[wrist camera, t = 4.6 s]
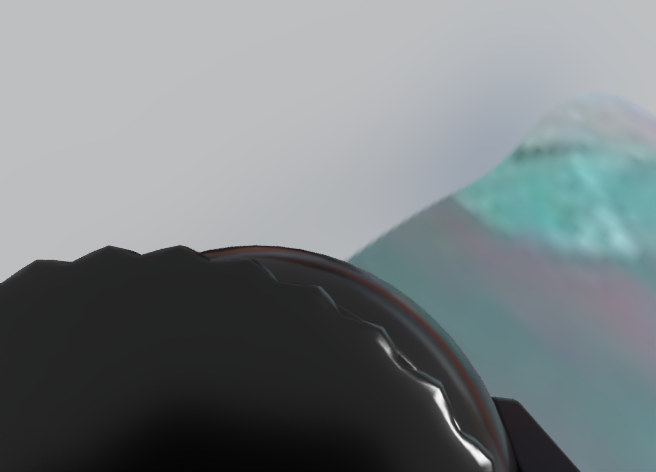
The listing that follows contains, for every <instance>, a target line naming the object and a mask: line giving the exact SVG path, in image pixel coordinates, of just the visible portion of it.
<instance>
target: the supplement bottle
mask: <svg viewBox="0 0 656 472" xmlns="http://www.w3.org/2000/svg"><path fill="white" fill-rule="evenodd" d="M0 472H518V467H517V463H516V459H515V456H514V453H513V450H512V447H511V444H510V441H509V438H508V435H507V432H506V429H505V427H504V425H503V422H502V420H501V418H500V415H499V413H498V411H497V408H496V406H495V404H494V402H493V400H492V398H491V396H490V394H489V393H488V391H487V389H486V387H485V385H484V383H483V381H482V380H481V378H480V376H479V375H478V373H477V372H476V370H475V369H474V367H473V366H472V364H471V363H470V361H469V360H468V358H467V357H466V355H465V354H464V353H463V351H462V350H461V349H460V348H459V346H458V345H457V344H456V343H455V341H454V340H453V339H452V338H451V336H450V335H449V334H448V333H447V332H446V331H445V330H444V329H443V328H442V327H441V326H440V325H439V324H438V323H437V322H436V321H435V320H434V319H433V317H432V316H431V315H429V314H428V313H427V312H426V311H425V310H424V309H422V308H421V307H420V306H419V305H418V304H417V303H415V302H414V301H413V300H412V299H411V298H409V297H408V296H406V295H405V294H404V293H402V292H401V291H399V290H398V289H396V288H395V287H394V286H392V285H391V284H389V283H387V282H386V281H384V280H382V279H380V278H379V277H377V276H375V275H373V274H372V273H370V272H368V271H365V270H363V269H361V268H359V267H356V266H354V265H352V264H350V263H347V262H345V261H342V260H338V259H336V258H333V257H330V256H327V255H323V254H319V253H315V252H310V251H306V250H302V249H294V248H287V247H280V246H258V245H253V246H235V247H227V248H219V249H213V250H207V251H203V252H197V251H195V250H192V249H191V248H189V247H186V246H181V245H179V246H174V247H169V248H165V249H160V250H157V251H153V252H150V253H147V254H143V255H141V254H139V253H137V252H134V251H131V250H127V249H123V248H118V247H114V246H106V247H104V248H102V249H99V250H96V251H94V252H91V253H89V254H87V255H85V256H83V257H81V258H79V259H77V260H75V261H73V262H66V261H58V260H36V261H34V262H32V263H31V264H29V265H27V266H26V267H24V268H22V269H21V270H19V271H18V272H16V273H15V274H14V275H12V276H11V277H10V278H8V279H7V280H5V281H4V282H2V283H0Z"/></svg>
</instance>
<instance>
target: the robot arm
mask: <svg viewBox="0 0 656 472" xmlns="http://www.w3.org/2000/svg"><path fill="white" fill-rule="evenodd" d="M491 398H492V400H493V402H494V404H495V406H496V408H497V411H498V413H499V415H500V418H501V420H502V422H503V425H504V427H505V429H506V432H507V435H508V438H509V441H510V444H511V447H512V450H513V453H514V456H515V459H516V463H517V467H518V472H580V471H579V469H578V468H577V467H576V466H575V465H574V464H573V463H572V461H571V460H570V459H569V458H568V457H567V456H566V455H565V454H564V452H563V451H562V450H561V449H560V448H559V447H558V446H557V444H556V443H555V442H554V441H553V440H552V439H551V438H550V436H549V435H548V434H547V433H546V432H545V431H544V430H543V429H542V427H541V426H540V425H539V424H538V423H537V422H536V421H535V419H534V418H533V417H532V416H531V415H530V414H529V413H528V412H527V410H526V409H525V408H524V407H523V406H522V405H521V404H520V403H519V402H518V401H517V400H514V399H509V398H500V397H491Z"/></svg>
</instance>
